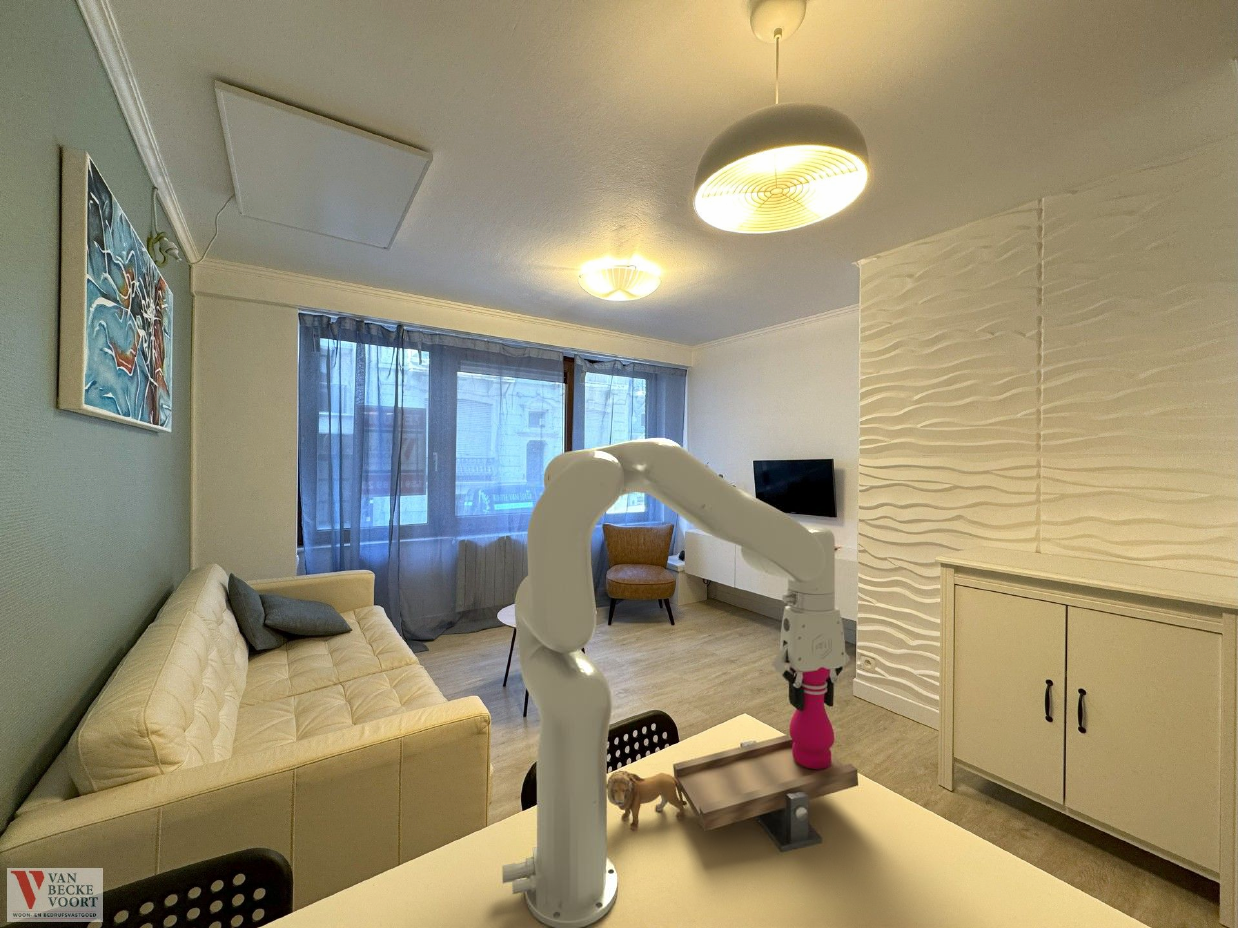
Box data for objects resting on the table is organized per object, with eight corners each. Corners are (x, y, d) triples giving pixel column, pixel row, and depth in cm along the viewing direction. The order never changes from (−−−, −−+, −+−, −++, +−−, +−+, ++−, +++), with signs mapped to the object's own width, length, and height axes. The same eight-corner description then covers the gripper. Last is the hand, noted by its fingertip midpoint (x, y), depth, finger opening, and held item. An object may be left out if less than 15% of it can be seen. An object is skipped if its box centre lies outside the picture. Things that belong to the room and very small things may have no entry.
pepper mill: (838, 773, 83) (838, 651, 83) (792, 768, 84) (792, 648, 84) (829, 749, 90) (829, 636, 90) (786, 744, 91) (786, 634, 91)
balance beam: (705, 830, 75) (703, 813, 75) (674, 779, 87) (673, 763, 87) (858, 785, 82) (857, 768, 82) (810, 743, 94) (809, 729, 94)
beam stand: (781, 851, 76) (781, 803, 76) (728, 781, 92) (728, 742, 92) (821, 842, 78) (822, 795, 78) (763, 775, 94) (763, 737, 94)
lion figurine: (614, 844, 77) (614, 786, 77) (600, 822, 82) (600, 766, 82) (695, 815, 84) (695, 761, 84) (677, 796, 88) (677, 744, 88)
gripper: (779, 610, 81) (779, 723, 81) (868, 601, 85) (869, 708, 86) (755, 597, 88) (755, 701, 88) (838, 590, 93) (839, 689, 93)
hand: (811, 703), depth 87 cm, fingers closed on pepper mill, 5 cm apart
